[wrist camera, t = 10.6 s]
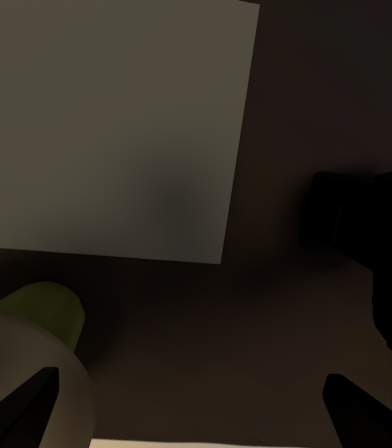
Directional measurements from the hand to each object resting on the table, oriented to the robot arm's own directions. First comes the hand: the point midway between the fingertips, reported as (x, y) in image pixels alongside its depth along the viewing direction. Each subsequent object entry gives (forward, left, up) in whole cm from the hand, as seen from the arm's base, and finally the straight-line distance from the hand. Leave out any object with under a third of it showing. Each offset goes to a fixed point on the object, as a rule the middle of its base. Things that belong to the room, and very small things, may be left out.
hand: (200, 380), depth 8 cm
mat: (+6, -8, -13) cm, 16 cm away
